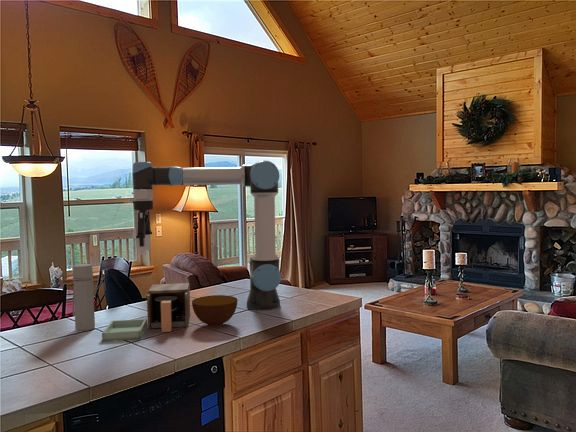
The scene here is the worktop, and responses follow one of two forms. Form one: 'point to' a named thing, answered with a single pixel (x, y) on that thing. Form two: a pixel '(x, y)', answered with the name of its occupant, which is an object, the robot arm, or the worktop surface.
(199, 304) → the bowl
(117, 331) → the tray
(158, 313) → the mug
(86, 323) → the water bottle
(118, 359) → the worktop surface
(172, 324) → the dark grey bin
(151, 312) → the bay
